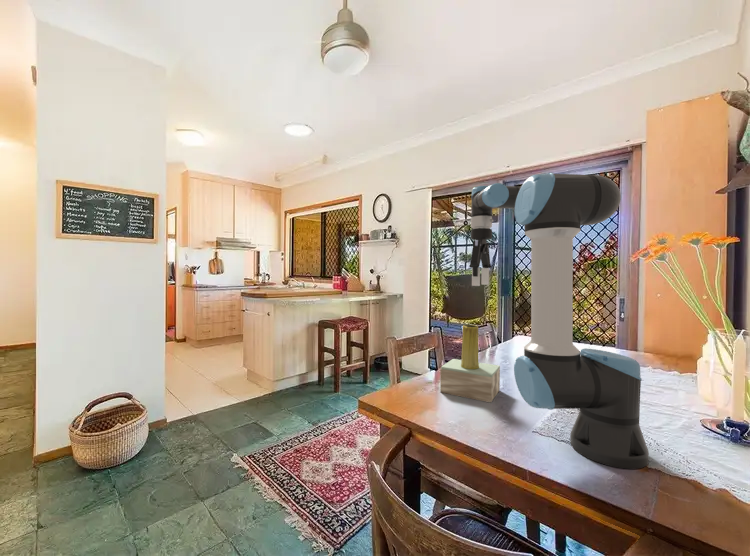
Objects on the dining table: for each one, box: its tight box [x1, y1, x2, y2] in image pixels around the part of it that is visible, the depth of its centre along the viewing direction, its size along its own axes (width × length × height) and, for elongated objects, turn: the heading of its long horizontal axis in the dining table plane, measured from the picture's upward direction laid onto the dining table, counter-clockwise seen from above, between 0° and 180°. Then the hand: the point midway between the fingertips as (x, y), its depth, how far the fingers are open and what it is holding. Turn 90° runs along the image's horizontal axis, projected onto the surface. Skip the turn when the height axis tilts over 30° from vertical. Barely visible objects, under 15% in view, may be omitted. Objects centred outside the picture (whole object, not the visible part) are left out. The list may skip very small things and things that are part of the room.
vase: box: [460, 324, 480, 369], centre depth 118 cm, size 6×6×14 cm
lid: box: [440, 358, 501, 377], centre depth 119 cm, size 12×17×1 cm
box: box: [439, 367, 501, 403], centre depth 119 cm, size 13×17×8 cm
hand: (480, 285), depth 128 cm, fingers open, 13 cm apart
